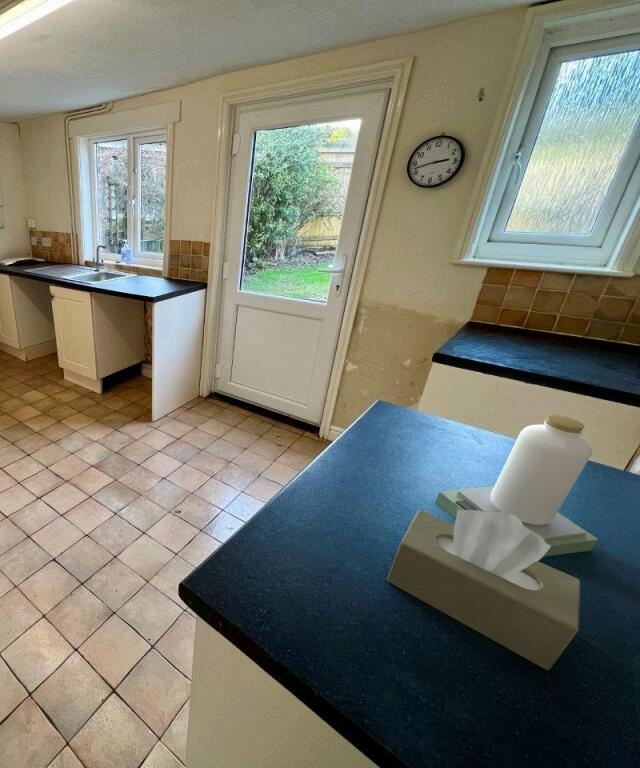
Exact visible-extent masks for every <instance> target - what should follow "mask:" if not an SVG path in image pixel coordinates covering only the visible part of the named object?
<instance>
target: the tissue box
mask: <svg viewBox="0 0 640 768" xmlns="http://www.w3.org/2000/svg"><path fill="white" fill-rule="evenodd" d="M456 509H457V508H456ZM550 547H551V546H550V545H548V544H546V543H545V540H544V539H543V538H541V537H540V536H539V535H537V534H536V533H534V532H532V531H531V530H529V529H528V528H526V527H525V526H523V524H522V522H521V520H520V519H518V518H517V517H516V516H513V515H511V514H508V513H504V512H483V511H477V510H461V509H457V516H456V519H455V522H454V524H453V523H451V522H449V521H447V520H444V519H442V518H440V517H437V516H435V515H433V514H430V513H428V512H426V511H423V510H421V509H418V510H417V511H416V513H415V515H414V517H413V519H412V521H411V522H410V524H409V526H408V527H407V530H406V532H405V534H404V535H403V537H402V539H401V541H400V543H399V544H398V547H397V549H396V552H395V554H394V556H393V560H392V563H391V566H390V568H389V571H388V574H387V576H386V581H387V582H388V583H389V584H392V585H393V586H395V587H397V588H399V589H401V590H402V591H404V592H406V593H407V594H410V595H411V596H413V597H415V598H416V599H418V600H420V601H422V602H424V603H425V604H427V605H429V606H431V607H433V608H434V609H436V610H438V611H440V612H442V613H443V614H445V615H446V616H449V617H451V618H452V619H454V620H456V621H458V622H460V623H462V624H463V625H465V626H467V627H469V628H470V629H472V630H474V631H475V632H477V633H479V634H481V635H483V636H484V637H486V638H488V639H490V640H492V641H493V642H495V643H497V644H499V645H501V646H503V647H504V648H506V649H508V650H509V651H512V652H513V653H515V654H517V655H518V656H520V657H522V658H524V659H526V660H528V661H530V662H531V663H533V664H535V665H537V666H539V667H540V668H542V669H544V670H546V671H550V670H551V669H552V667H553V666H554V665H555V663H556V662H557V660H558V659H559V658H560V657H561V655H562V654H563V653H564V652H565V650H566V648H567V647H568V646H569V645H570V643H571V642H572V641H573V639H574V637H575V636H576V635H577V633H578V632H579V628H580V627H579V625H580V624H579V623H580V606H581V605H580V603H581V602H580V601H581V583H582V581H581V580H580V579H579V578H578V577H575V576H573V575H570V574H568V573H566V572H563V571H562V570H559V569H556V568H554V567H552V566H550V565H547V564H545V563H543V562H541V561H540V560H541V559H542V558H544V557H543V556H544V555H545V554H546V552H547V551H548V550H549V549H550Z"/></svg>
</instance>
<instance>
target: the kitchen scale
mask: <svg viewBox="0 0 640 768" xmlns="http://www.w3.org/2000/svg"><path fill="white" fill-rule="evenodd" d="M494 486H495V485H488V486H487V485H486V486H479V487H478V486H477V487H470V488H469V487H468V488H460V489H451V490H442V491H439V492H438V493H437V497H436V499H435V500H434V501H435V503H436V504H437V505H439V506H440V507H441V508H442V509H443V510H444V511H445V512H447V513H448V514H449V515H450V516H451V517H452V518H454V519H455V520H456V516H457V509H461V510H477V511H483V512H501V511H500V510H498V509H497V508H496V507H495V506H494V504H493V503H492V501H491V492H492V490H493V488H494ZM456 508H457V509H456ZM522 524H523V526H525V527H526V528H528V529H529V530H531V531H532V532H534V533H536V534H537V535H539V536H540V537H541V538H543V539H544V540H545V543H546V544H548V545H550V546H551V547H550V549H549V550H548V551H547V552H546V554H545V555H544V556H543V557H542V558H546V557H553V556H559V555H568V554H574V553H583V552H590V551H592V550H593V548H594V547H595V545H596V544H597V542H598V541H599V539H598V538H597V536H594V535H593V534H591V533H590V532H588V531H587V530H585V529H584V528H583V527H581V526H580V525H578V524H576V523H575V522H573V521H572V520H570V519H569V518H567V517H566V516H564V515H562V514H561V513H560V512H559V511H558V512H557V514H556V516H555V517H554V519H553V520H552V522H550V523H548V524H544V525H533V524H528V523H524V522H522Z"/></svg>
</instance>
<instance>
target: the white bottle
mask: <svg viewBox="0 0 640 768" xmlns="http://www.w3.org/2000/svg"><path fill="white" fill-rule="evenodd" d="M584 428H585V425H584V424H583V422H581V421H579V420H577V419H576V418H572V417H569V416H565V415H559V414H549V415H548V416H547V419H545V420H544V421H543V424H531V425H528V426H525V427H524V428H523V429H522V430H521V431H520V432H519V434H518V436H517V438H516V441H515V442H514V444H513V447H512V449H511V451H510V453H509V455H508V457H507V459H506V461H505V463H504V466H503V468H502V470H501V472H500V474H499V476H498V478H497V480H496V482H495V484H494V485H493V486H494V488H493V490H492V492H491V501H492V503H493V504H494V506H495V507H496V508H497V509H498V510H500V511H501V512H504V513H508V514H511V515H513V516H516V517H517V518H518V519H520V520H521V522H524V523H528V524H533V525H544V524H548V523H550V522H552V520H553V519H554V517H555V516H556V514H557V512H558V513H559V511H560V509H561V508H562V506H563V504H564V502H565V500H566V498H567V497H568V495H569V494H570V492H571V490H572V489H573V487H574V485H575V484H576V482H577V480H578V478H579V477H580V475H581V473H582V471H583V470H584V468H585V466H586V465H587V463H588V462H589V460H590V458H591V456H592V455H593V447H592V445H591V443H590V442H589V441H588V440H587V439H586V438H584V437H583V436H581V435H582V434H583V433H584V430H583V429H584Z"/></svg>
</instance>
